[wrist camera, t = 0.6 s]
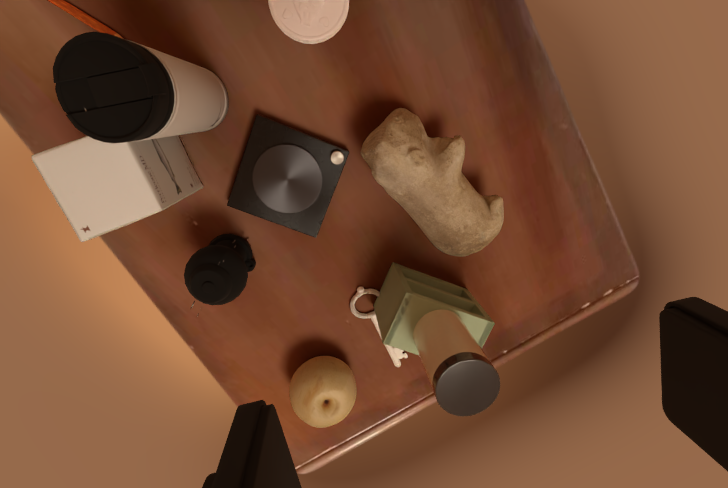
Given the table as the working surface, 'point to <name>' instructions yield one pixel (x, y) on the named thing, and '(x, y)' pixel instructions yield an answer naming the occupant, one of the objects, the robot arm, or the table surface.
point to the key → (376, 323)
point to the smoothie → (309, 18)
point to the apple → (322, 391)
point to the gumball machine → (219, 270)
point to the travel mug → (134, 90)
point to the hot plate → (287, 176)
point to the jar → (455, 364)
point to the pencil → (83, 17)
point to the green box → (423, 306)
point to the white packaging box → (116, 181)
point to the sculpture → (432, 184)
